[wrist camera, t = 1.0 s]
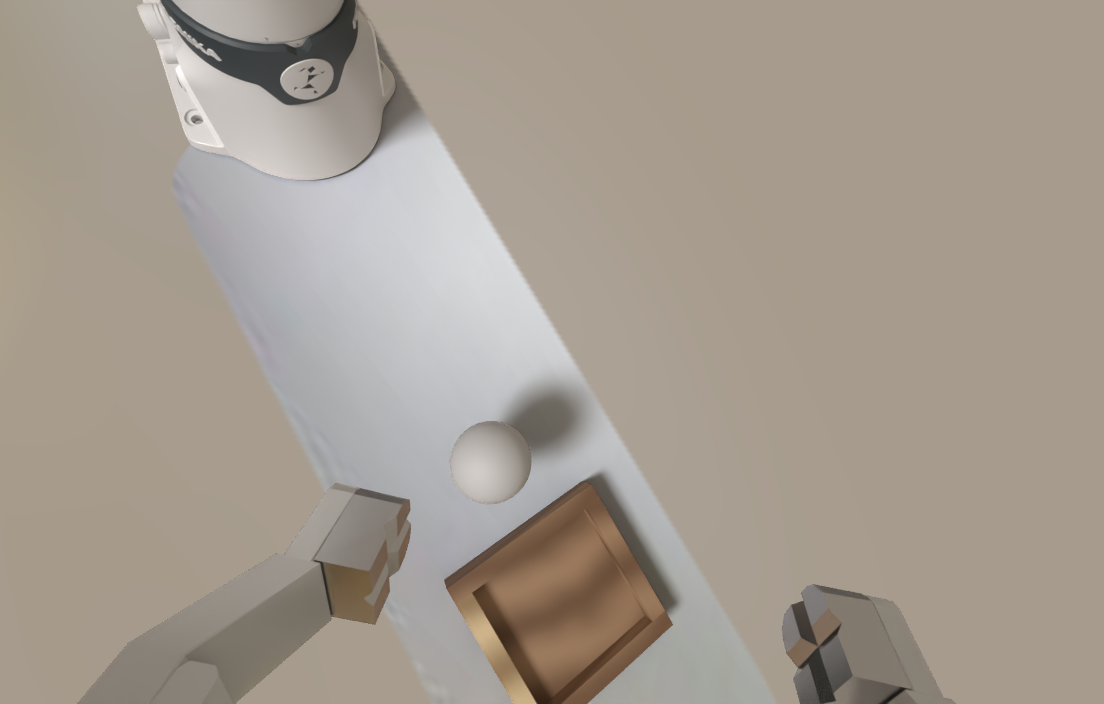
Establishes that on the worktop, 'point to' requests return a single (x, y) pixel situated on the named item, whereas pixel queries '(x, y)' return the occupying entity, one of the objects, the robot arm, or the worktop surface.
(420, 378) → the worktop surface
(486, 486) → the lightbulb
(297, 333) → the worktop surface
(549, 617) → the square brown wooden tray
